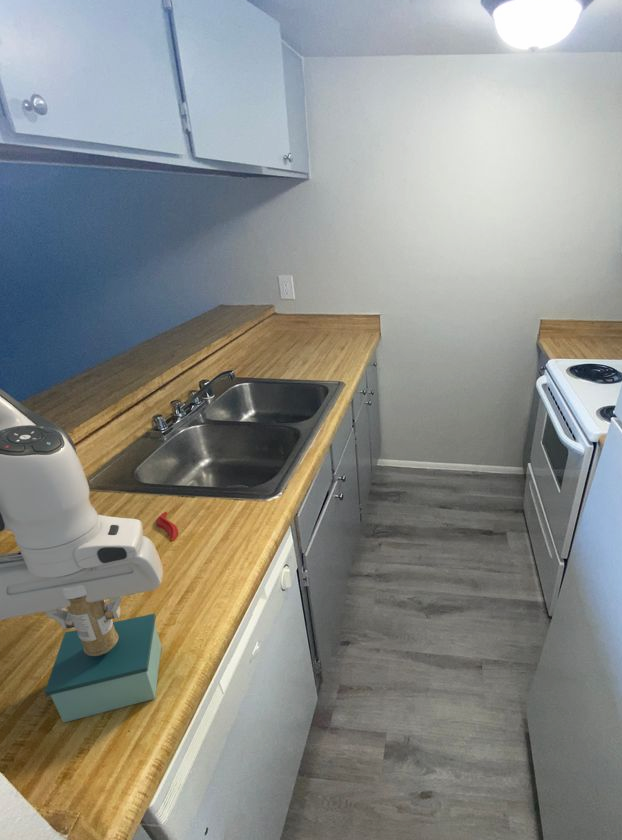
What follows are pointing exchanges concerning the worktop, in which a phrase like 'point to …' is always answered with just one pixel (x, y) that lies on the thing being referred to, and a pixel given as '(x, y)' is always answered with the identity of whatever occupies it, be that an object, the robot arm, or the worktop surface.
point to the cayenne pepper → (167, 526)
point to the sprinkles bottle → (90, 622)
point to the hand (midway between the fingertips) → (93, 620)
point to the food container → (106, 671)
